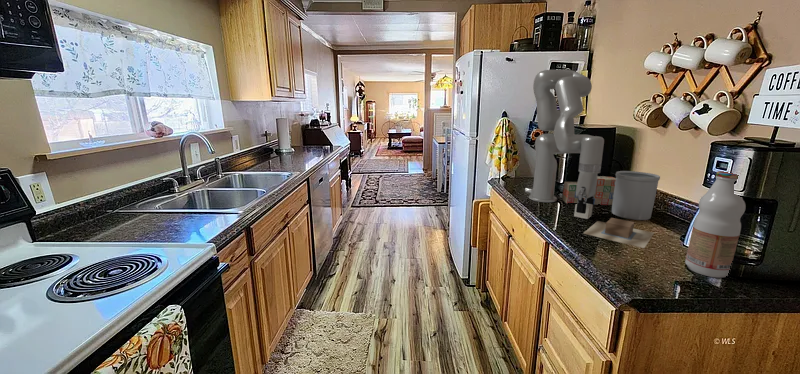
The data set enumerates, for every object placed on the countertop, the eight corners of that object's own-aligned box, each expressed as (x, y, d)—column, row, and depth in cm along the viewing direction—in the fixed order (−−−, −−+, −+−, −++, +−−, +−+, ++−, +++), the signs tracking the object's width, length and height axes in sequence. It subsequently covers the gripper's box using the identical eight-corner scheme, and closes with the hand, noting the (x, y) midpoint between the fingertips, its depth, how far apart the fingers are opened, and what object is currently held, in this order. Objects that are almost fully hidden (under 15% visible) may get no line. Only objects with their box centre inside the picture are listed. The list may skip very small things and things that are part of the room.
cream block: (573, 218, 138) (575, 204, 136) (577, 215, 141) (579, 202, 140) (587, 221, 134) (589, 207, 133) (590, 218, 138) (592, 204, 136)
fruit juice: (683, 271, 95) (705, 173, 88) (684, 259, 102) (705, 167, 95) (730, 282, 89) (757, 178, 82) (727, 269, 96) (752, 172, 89)
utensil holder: (611, 207, 152) (617, 169, 148) (652, 213, 144) (659, 173, 140) (608, 216, 140) (614, 174, 136) (652, 223, 132) (660, 179, 128)
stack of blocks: (566, 204, 158) (569, 178, 155) (561, 200, 164) (564, 175, 161) (615, 205, 156) (619, 179, 153) (608, 201, 162) (612, 176, 159)
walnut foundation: (604, 233, 120) (606, 222, 119) (609, 227, 124) (611, 217, 123) (627, 238, 115) (629, 227, 114) (632, 232, 120) (634, 222, 119)
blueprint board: (582, 236, 120) (582, 233, 119) (597, 223, 132) (597, 220, 132) (643, 251, 108) (644, 248, 107) (653, 235, 120) (654, 232, 120)
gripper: (586, 164, 141) (581, 204, 145) (571, 169, 129) (567, 213, 133) (606, 166, 136) (601, 207, 140) (593, 172, 124) (588, 217, 128)
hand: (584, 210), depth 136 cm, fingers open, 9 cm apart
